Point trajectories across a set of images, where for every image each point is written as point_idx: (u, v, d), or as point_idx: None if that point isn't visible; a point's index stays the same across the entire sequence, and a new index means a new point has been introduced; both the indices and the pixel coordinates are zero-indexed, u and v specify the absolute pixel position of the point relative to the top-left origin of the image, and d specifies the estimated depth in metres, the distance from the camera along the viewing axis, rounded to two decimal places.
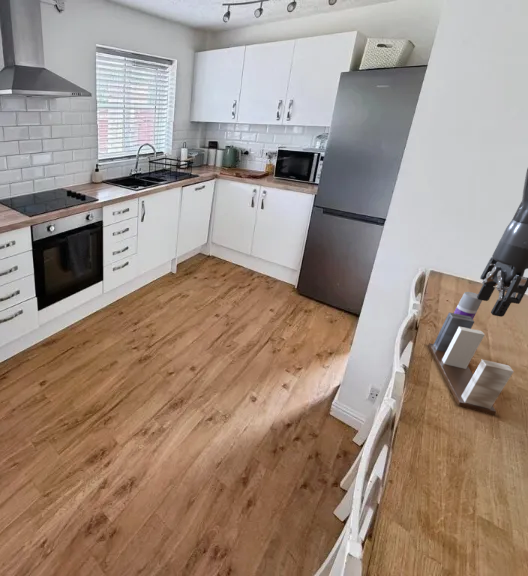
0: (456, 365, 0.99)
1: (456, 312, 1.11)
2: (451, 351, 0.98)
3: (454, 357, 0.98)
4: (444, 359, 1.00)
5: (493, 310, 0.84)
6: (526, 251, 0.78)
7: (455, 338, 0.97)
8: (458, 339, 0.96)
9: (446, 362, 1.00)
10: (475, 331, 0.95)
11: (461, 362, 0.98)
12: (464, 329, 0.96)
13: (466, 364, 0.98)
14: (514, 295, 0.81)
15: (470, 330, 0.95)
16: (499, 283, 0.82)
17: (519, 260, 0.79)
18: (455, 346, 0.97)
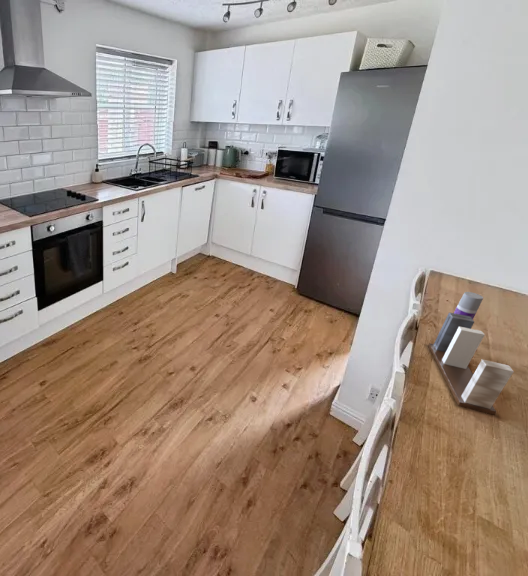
0: (456, 365, 0.99)
1: (456, 312, 1.11)
2: (451, 351, 0.98)
3: (454, 357, 0.98)
4: (444, 359, 1.00)
5: None
6: None
7: (455, 338, 0.97)
8: (458, 339, 0.96)
9: (446, 362, 1.00)
10: (475, 331, 0.95)
11: (461, 362, 0.98)
12: (464, 329, 0.96)
13: (466, 364, 0.98)
14: None
15: (470, 330, 0.95)
16: None
17: None
18: (455, 346, 0.97)
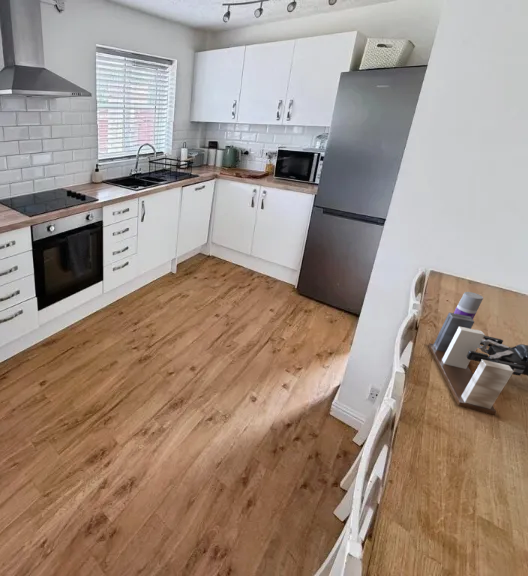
0: (456, 365, 0.99)
1: (456, 312, 1.11)
2: (451, 351, 0.98)
3: (454, 357, 0.98)
4: (444, 359, 1.00)
5: None
6: None
7: (455, 338, 0.97)
8: (458, 339, 0.96)
9: (446, 362, 1.00)
10: (475, 331, 0.95)
11: (461, 362, 0.98)
12: (464, 329, 0.96)
13: (466, 364, 0.98)
14: None
15: (470, 330, 0.95)
16: None
17: None
18: (455, 346, 0.97)
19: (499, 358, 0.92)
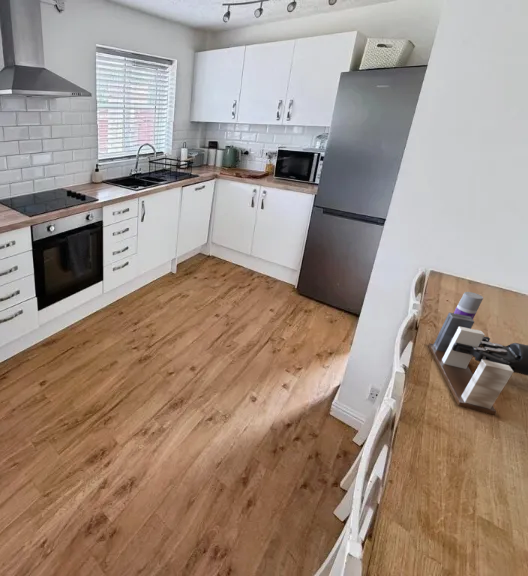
0: (456, 365, 0.99)
1: (456, 312, 1.11)
2: (451, 351, 0.98)
3: (454, 357, 0.99)
4: (444, 359, 1.00)
5: None
6: None
7: (455, 338, 0.97)
8: (458, 339, 0.96)
9: (446, 362, 1.00)
10: (475, 331, 0.95)
11: (461, 362, 0.98)
12: (464, 329, 0.96)
13: (466, 364, 0.98)
14: None
15: (470, 330, 0.95)
16: None
17: None
18: None
19: (485, 351, 0.94)
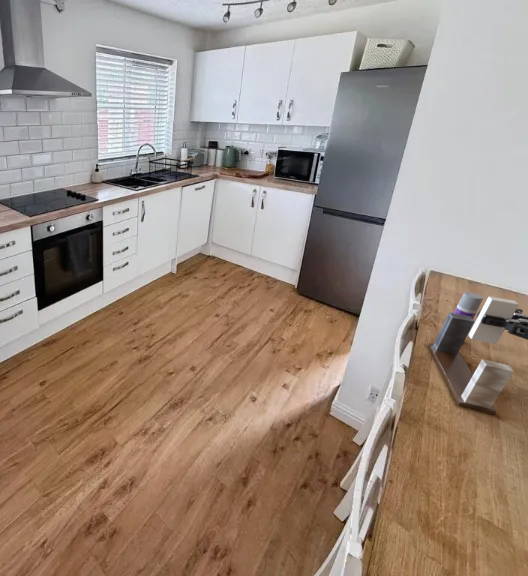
0: (485, 340, 0.89)
1: (456, 312, 1.11)
2: (480, 324, 0.88)
3: (483, 331, 0.88)
4: (471, 334, 0.90)
5: None
6: None
7: (484, 310, 0.87)
8: (488, 310, 0.86)
9: (474, 337, 0.89)
10: (508, 301, 0.85)
11: (491, 337, 0.88)
12: (495, 299, 0.85)
13: (497, 339, 0.88)
14: None
15: (502, 299, 0.85)
16: None
17: None
18: None
19: (519, 323, 0.84)
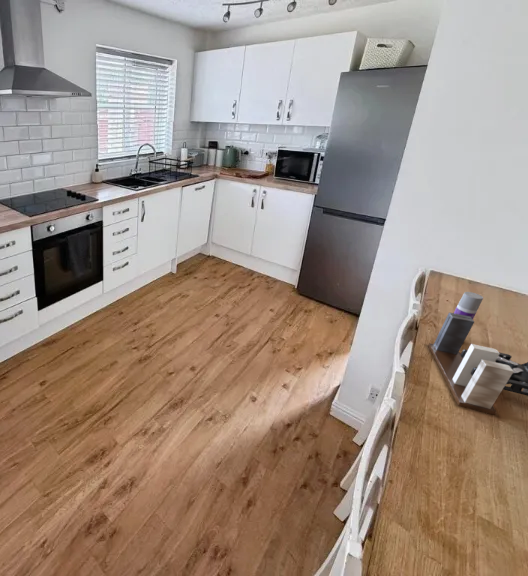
0: None
1: (456, 312, 1.11)
2: (463, 370, 0.91)
3: (466, 377, 0.91)
4: (455, 378, 0.93)
5: None
6: None
7: (467, 357, 0.90)
8: (470, 358, 0.89)
9: (457, 382, 0.92)
10: (489, 349, 0.87)
11: None
12: (477, 347, 0.88)
13: None
14: None
15: (484, 348, 0.88)
16: None
17: None
18: (467, 365, 0.90)
19: None
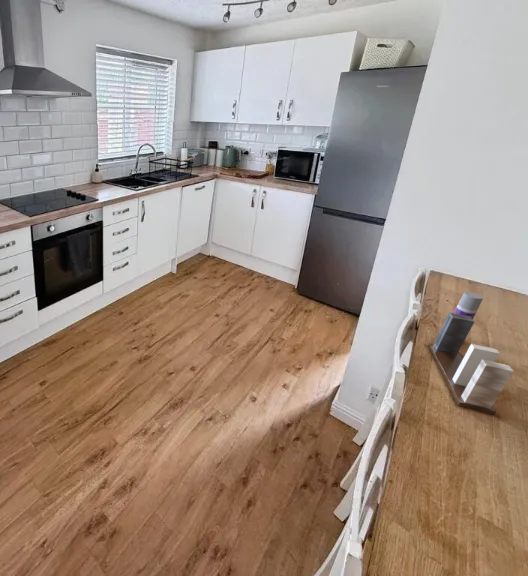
0: None
1: (456, 312, 1.11)
2: (463, 370, 0.91)
3: (466, 377, 0.91)
4: (455, 378, 0.93)
5: None
6: None
7: (467, 357, 0.90)
8: (470, 358, 0.89)
9: (457, 382, 0.92)
10: (489, 349, 0.87)
11: None
12: (477, 347, 0.88)
13: None
14: None
15: (484, 348, 0.88)
16: None
17: None
18: (467, 365, 0.90)
19: None
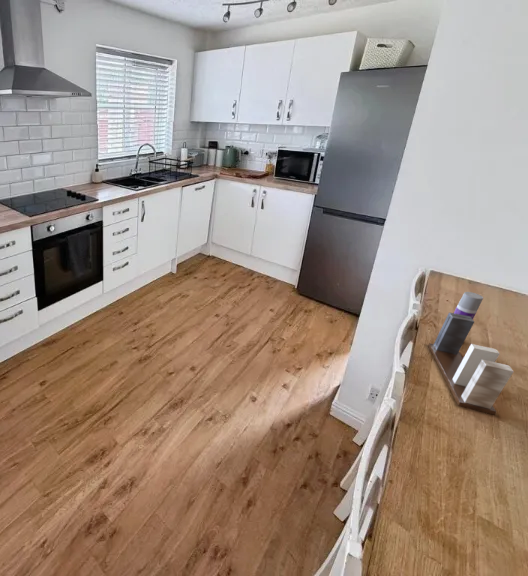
0: None
1: (456, 312, 1.11)
2: (463, 370, 0.91)
3: (466, 377, 0.91)
4: (455, 378, 0.93)
5: None
6: None
7: (467, 357, 0.90)
8: (470, 358, 0.89)
9: (457, 382, 0.92)
10: (489, 349, 0.87)
11: None
12: (477, 347, 0.88)
13: None
14: None
15: (484, 348, 0.88)
16: None
17: None
18: (467, 365, 0.90)
19: None
